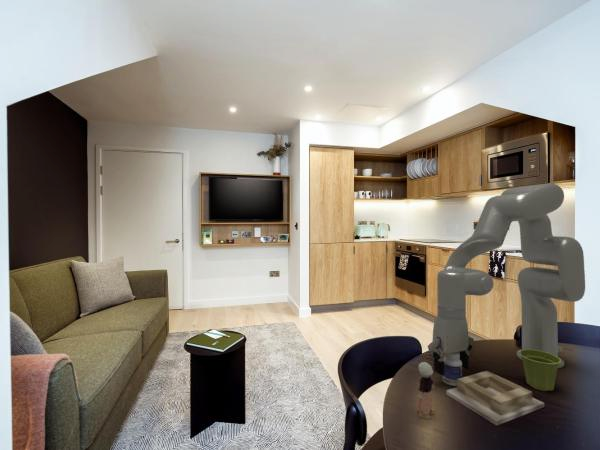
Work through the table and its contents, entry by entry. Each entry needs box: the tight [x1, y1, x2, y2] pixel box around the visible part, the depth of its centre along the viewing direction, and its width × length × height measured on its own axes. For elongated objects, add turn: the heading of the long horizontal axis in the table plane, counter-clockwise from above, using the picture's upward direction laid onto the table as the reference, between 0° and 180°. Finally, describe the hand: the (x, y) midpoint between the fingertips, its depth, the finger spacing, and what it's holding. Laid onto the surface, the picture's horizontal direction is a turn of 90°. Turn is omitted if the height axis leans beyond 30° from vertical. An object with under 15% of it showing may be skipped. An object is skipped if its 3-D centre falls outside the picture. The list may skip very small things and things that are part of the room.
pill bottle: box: [442, 352, 463, 387], centre depth 88 cm, size 5×5×9 cm
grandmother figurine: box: [416, 361, 436, 420], centre depth 73 cm, size 8×4×13 cm, turn 145°
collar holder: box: [445, 370, 545, 426], centre depth 79 cm, size 18×14×4 cm
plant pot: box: [519, 349, 562, 392], centre depth 85 cm, size 9×9×9 cm
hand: (451, 370), depth 88 cm, fingers open, 9 cm apart
